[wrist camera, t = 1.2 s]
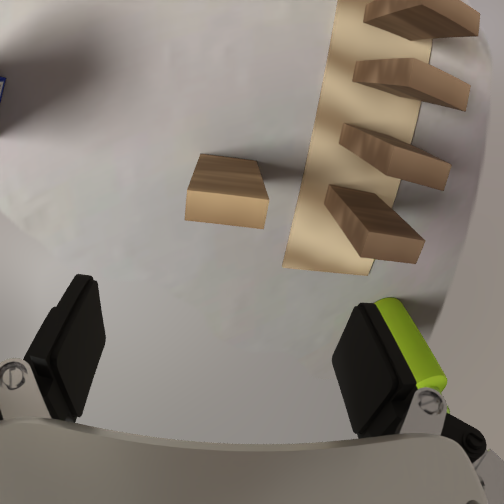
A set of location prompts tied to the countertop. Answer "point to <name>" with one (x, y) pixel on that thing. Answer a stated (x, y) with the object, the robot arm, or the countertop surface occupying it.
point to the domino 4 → (395, 157)
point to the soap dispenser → (412, 345)
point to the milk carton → (2, 86)
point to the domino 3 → (413, 81)
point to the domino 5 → (373, 226)
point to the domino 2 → (423, 18)
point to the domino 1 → (227, 192)
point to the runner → (339, 158)
